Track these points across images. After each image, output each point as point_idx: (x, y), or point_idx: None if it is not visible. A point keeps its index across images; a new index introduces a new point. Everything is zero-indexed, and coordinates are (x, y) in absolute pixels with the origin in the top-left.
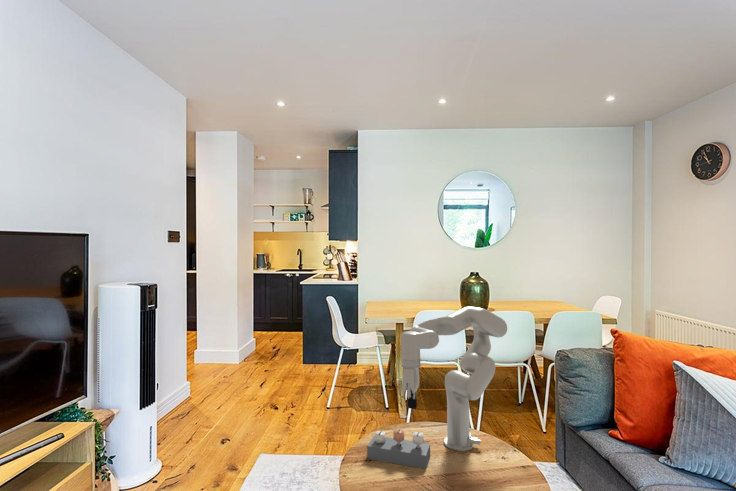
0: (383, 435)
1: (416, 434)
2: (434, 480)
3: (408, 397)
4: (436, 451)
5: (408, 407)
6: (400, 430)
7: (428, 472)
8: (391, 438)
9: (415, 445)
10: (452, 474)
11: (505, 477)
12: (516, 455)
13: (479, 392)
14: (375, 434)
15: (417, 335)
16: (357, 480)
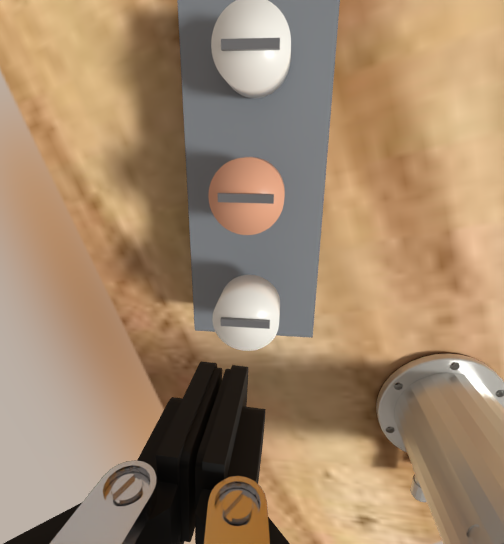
0: (229, 83)
1: (240, 313)
2: (151, 337)
3: (95, 496)
4: (359, 328)
5: (201, 364)
6: (265, 205)
7: (192, 314)
8: (321, 124)
9: (274, 274)
10: None
11: None
12: None
13: None
14: (221, 13)
15: None
16: (17, 44)
